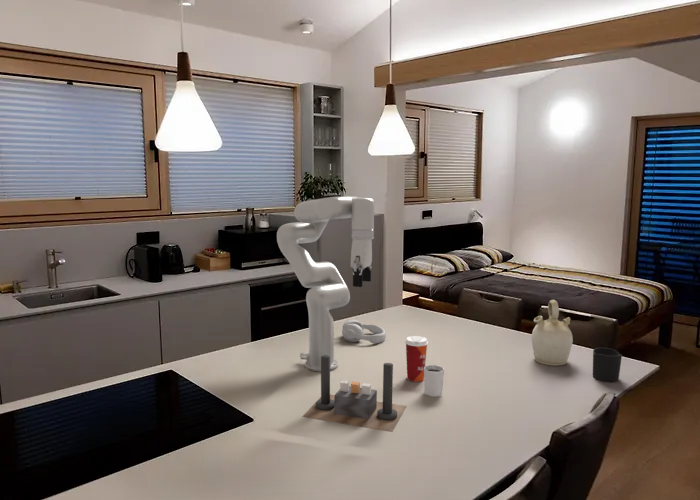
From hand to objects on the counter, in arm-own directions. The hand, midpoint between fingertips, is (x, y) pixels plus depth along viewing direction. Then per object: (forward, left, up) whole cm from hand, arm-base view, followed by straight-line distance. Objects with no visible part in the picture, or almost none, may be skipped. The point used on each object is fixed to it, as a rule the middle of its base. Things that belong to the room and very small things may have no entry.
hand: (362, 283), depth 183 cm
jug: (+64, +49, -36) cm, 88 cm away
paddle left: (+2, -24, -29) cm, 38 cm away
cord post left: (-4, -24, -35) cm, 42 cm away
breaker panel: (+6, -24, -36) cm, 44 cm away
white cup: (+26, -2, -36) cm, 45 cm away
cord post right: (+16, -24, -35) cm, 45 cm away
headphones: (-15, +51, -37) cm, 64 cm away
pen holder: (+83, +37, -36) cm, 98 cm away
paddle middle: (+6, -24, -29) cm, 38 cm away
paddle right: (+10, -24, -29) cm, 39 cm away
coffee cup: (+17, +12, -36) cm, 42 cm away
